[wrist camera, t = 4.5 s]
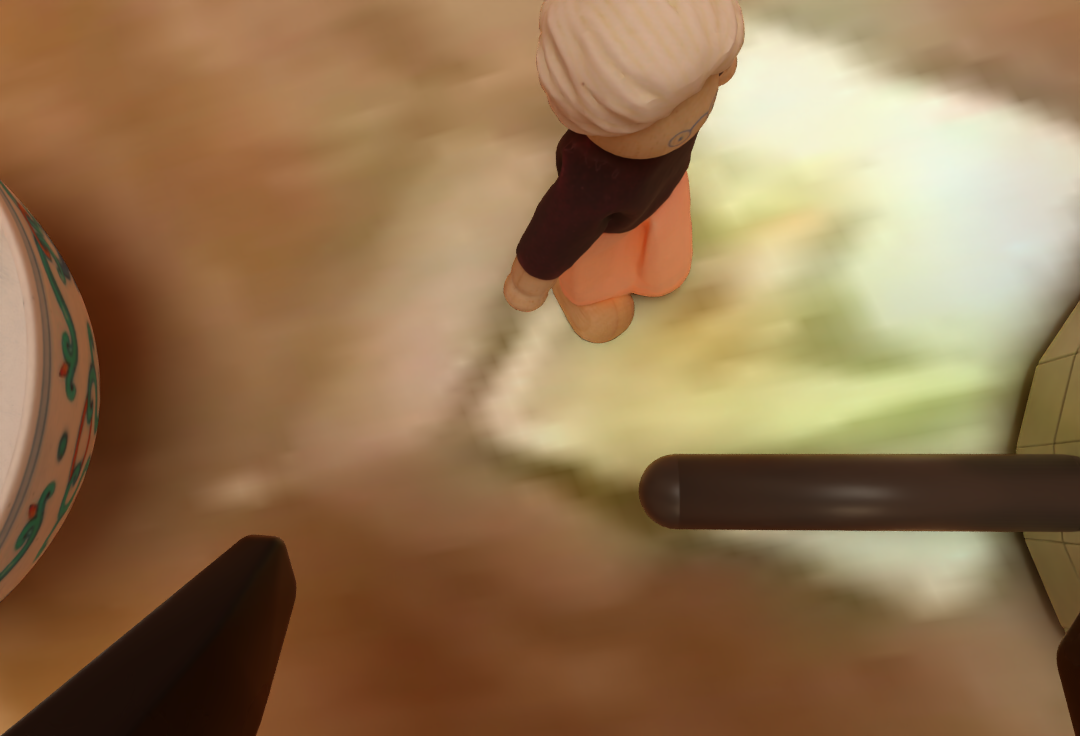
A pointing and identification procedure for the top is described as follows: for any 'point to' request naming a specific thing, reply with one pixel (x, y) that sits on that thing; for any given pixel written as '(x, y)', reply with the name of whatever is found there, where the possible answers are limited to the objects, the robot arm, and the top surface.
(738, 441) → the top surface
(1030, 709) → the top surface
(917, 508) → the pan handle
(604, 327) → the grandmother figurine
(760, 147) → the top surface
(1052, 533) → the pan
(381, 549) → the top surface
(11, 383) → the chinaware
